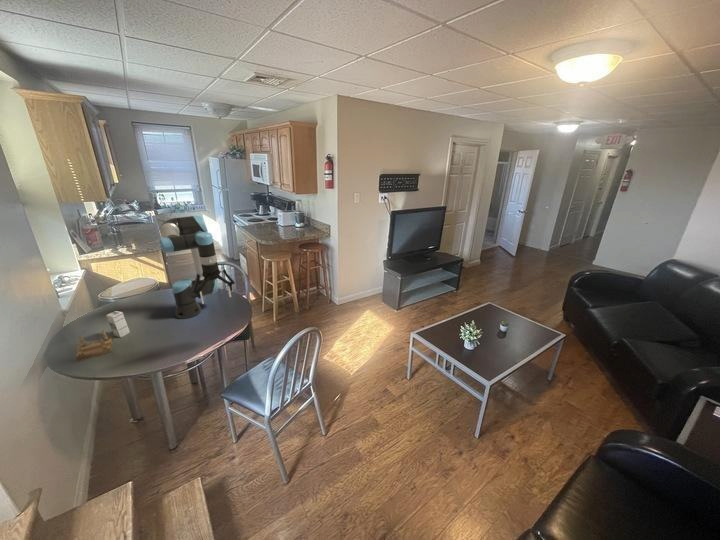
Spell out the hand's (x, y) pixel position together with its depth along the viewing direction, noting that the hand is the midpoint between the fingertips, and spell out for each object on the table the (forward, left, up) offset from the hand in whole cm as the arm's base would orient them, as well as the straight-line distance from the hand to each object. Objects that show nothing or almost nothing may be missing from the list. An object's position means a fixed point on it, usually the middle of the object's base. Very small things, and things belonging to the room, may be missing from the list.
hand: (216, 299), depth 154 cm
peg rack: (-33, -60, -28) cm, 74 cm away
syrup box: (-44, -49, -28) cm, 72 cm away
